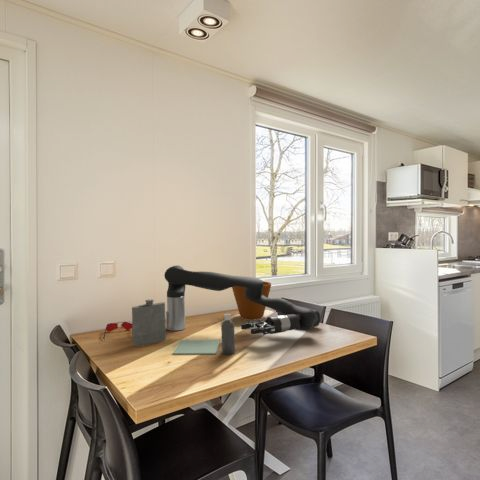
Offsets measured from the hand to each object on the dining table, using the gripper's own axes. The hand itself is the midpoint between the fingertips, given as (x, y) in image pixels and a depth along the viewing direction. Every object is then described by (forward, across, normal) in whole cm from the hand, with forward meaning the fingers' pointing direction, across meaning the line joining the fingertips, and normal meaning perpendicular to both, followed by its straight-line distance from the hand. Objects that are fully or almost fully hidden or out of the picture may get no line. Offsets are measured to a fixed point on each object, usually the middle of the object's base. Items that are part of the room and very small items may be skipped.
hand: (246, 329), depth 147 cm
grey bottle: (+9, 0, +8) cm, 12 cm away
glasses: (+44, -53, +9) cm, 69 cm away
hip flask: (+34, -30, +9) cm, 46 cm away
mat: (+17, -13, +8) cm, 23 cm away
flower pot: (-31, -50, +9) cm, 59 cm away
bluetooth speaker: (-43, -20, +9) cm, 48 cm away
